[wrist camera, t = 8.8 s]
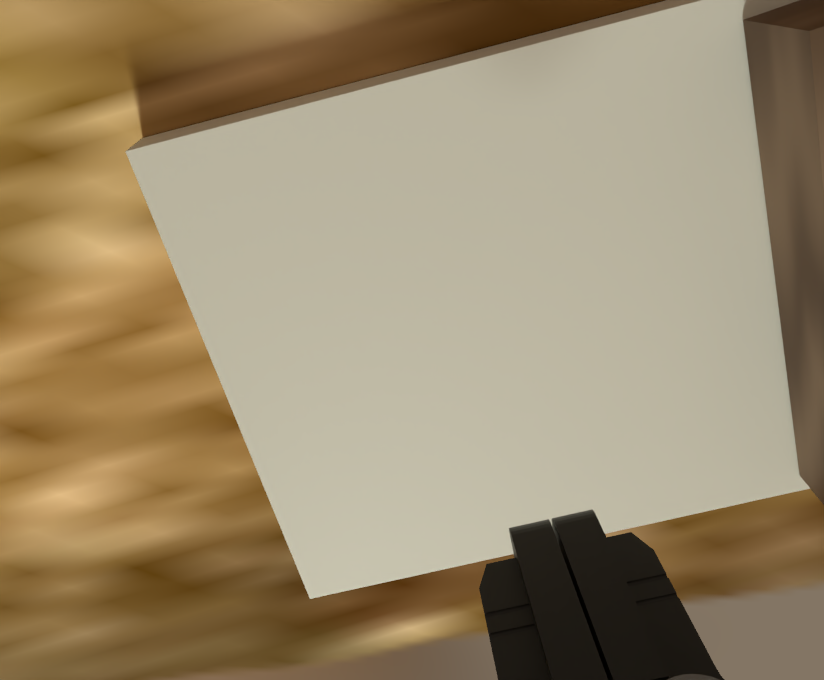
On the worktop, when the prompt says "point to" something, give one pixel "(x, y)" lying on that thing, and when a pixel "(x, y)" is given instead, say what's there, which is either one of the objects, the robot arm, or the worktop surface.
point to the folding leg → (795, 203)
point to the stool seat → (492, 291)
